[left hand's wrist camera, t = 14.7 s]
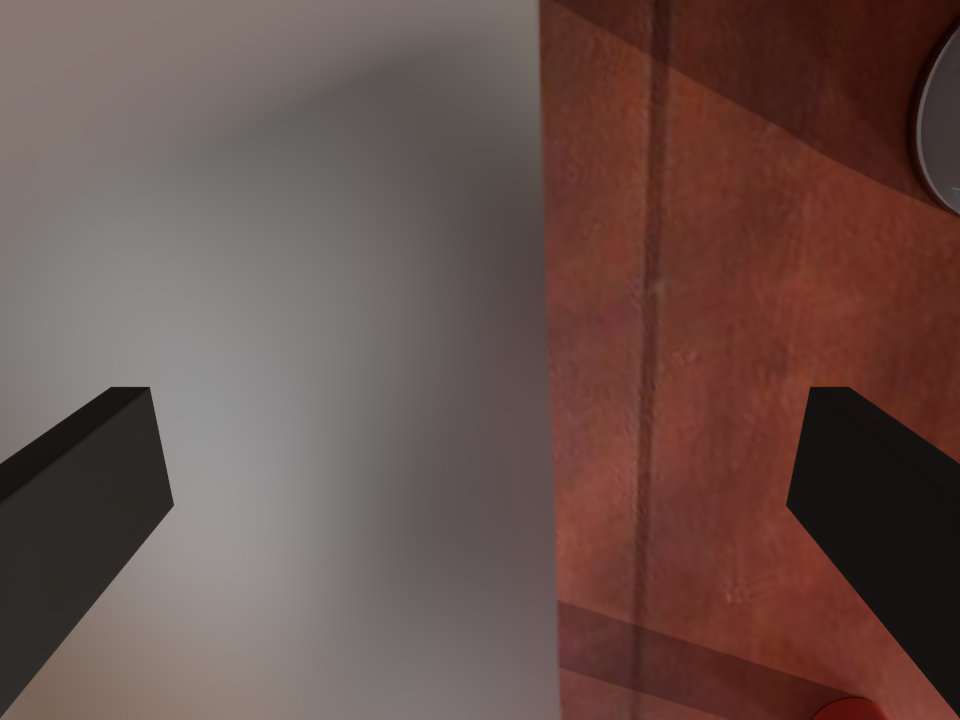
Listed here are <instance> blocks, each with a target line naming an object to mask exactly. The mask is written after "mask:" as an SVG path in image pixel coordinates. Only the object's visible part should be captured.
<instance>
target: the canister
mask: <svg viewBox="0 0 960 720" xmlns="http://www.w3.org/2000/svg"><path fill="white" fill-rule="evenodd" d="M813 720H889V719H888V718H887V716H886V715H885V713H884V712H883V710H882V709H881V708H880V707H879V706H878V705H877V704H875V703H874V702H872V701H870V700H867V699H862V698H847V699H842V700H838V701H836V702H833V703H831V704H829V705H827V706H825V707H824V708H823V709H821V710H820V711H819V712H818V713H817V714H816V715H815V717H814V718H813Z"/></svg>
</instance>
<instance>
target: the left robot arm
mask: <svg viewBox="0 0 960 720" xmlns="http://www.w3.org/2000/svg"><path fill="white" fill-rule="evenodd" d="M907 146H908V153H909V158H910V162H911V165H912V169H913V172H914V174H915V176H916V178H917V180H918V182H919V184H920V185H921V187H922V189H923V190H924V191H925V193H926V194H927V195H928V196H929V197H930V198H931V199H932V200H933V201H934V202H935V203H936V204H937V205H938V206H939V207H941V208H942V209H943V210H945V211H947V212H948V213H950V214H952V215H954V216H956V217H959V218H960V16H959V17H958V18H957V19H956V21H955V22H954V23H953V24H952V25H951V26H950V27H949V28H948V30H947V31H946V32H945V33H944V35H943V36H942V37H941V38H940V40H939V41H938V43H937V44H936V46H935V47H934V49H933V50H932V52H931V54H930V55H929V57H928V59H927V61H926V63H925V64H924V67H923V69H922V71H921V73H920V75H919V77H918V80H917V83H916V85H915V88H914V91H913V95H912V98H911V102H910V107H909V112H908V120H907ZM173 506H174V503H173V498H172V494H171V489H170V484H169V479H168V474H167V469H166V464H165V460H164V455H163V450H162V445H161V440H160V435H159V430H158V425H157V420H156V416H155V411H154V406H153V401H152V396H151V391H150V387H110V388H109V389H108V390H106V391H105V392H103V393H102V394H100V395H99V396H97V397H96V398H95V399H93V400H92V401H90V402H89V403H87V404H86V405H84V406H83V407H82V408H80V409H79V410H77V411H76V412H74V413H73V414H71V415H70V416H69V417H67V418H66V419H64V420H63V421H61V422H60V423H59V424H57V425H56V426H54V427H53V428H51V429H50V430H49V431H47V432H46V433H44V434H43V435H41V436H40V437H38V438H37V439H36V440H34V441H33V442H31V443H30V444H28V445H27V446H25V447H24V448H23V449H21V450H20V451H18V452H17V453H15V454H14V455H13V456H11V457H10V458H8V459H7V460H5V461H4V462H2V463H1V464H0V718H1V717H2V715H3V714H4V713H5V712H6V710H7V709H8V708H9V707H10V705H11V704H12V703H13V702H14V701H15V699H16V698H17V697H18V696H19V695H20V693H21V692H22V691H23V690H24V688H25V687H26V686H27V685H28V684H29V682H30V681H31V680H32V679H33V677H34V676H35V675H36V674H37V672H38V671H39V670H40V669H41V668H42V666H43V665H44V664H45V663H46V661H47V660H48V659H49V658H50V657H51V655H52V654H53V653H54V652H55V650H56V649H57V648H58V647H59V645H60V644H61V643H62V642H63V641H64V639H65V638H66V637H67V636H68V635H69V633H70V632H71V631H72V630H73V628H74V627H75V626H76V625H77V624H78V622H79V621H80V620H81V619H82V617H83V616H84V615H85V614H86V612H87V611H88V610H89V609H90V608H91V606H92V605H93V604H94V603H95V601H96V600H97V599H98V598H99V596H100V595H101V594H102V593H103V592H104V590H105V589H106V588H107V587H108V585H109V584H110V583H111V582H112V581H113V579H114V578H115V577H116V576H117V574H118V573H119V572H120V571H121V570H122V568H123V567H124V566H125V565H126V564H127V562H128V561H129V560H130V559H131V557H132V556H133V555H134V554H135V552H136V551H137V550H138V549H139V548H140V546H141V545H142V544H143V543H144V541H145V540H146V539H147V538H148V537H149V535H150V534H151V533H152V532H153V530H154V529H155V528H156V527H157V526H158V524H159V523H160V522H161V521H162V519H163V518H164V517H165V516H166V515H167V513H168V512H169V511H170V510H171V508H172V507H173ZM786 506H787V507H788V508H789V510H790V511H791V512H792V513H793V515H794V516H795V517H796V518H797V519H798V521H799V522H800V523H801V524H802V526H803V527H804V528H805V529H806V530H807V532H808V533H809V534H810V535H811V537H812V538H813V539H814V540H815V541H816V543H817V544H818V545H819V546H820V548H821V549H822V550H823V551H824V552H825V554H826V555H827V556H828V557H829V559H830V560H831V561H832V562H833V564H834V565H835V566H836V567H837V568H838V570H839V571H840V572H841V573H842V575H843V576H844V577H845V578H846V579H847V581H848V582H849V583H850V584H851V586H852V587H853V588H854V589H855V590H856V592H857V593H858V594H859V595H860V597H861V598H862V599H863V600H864V601H865V603H866V604H867V605H868V606H869V608H870V609H871V610H872V611H873V612H874V614H875V615H876V616H877V617H878V619H879V620H880V621H881V622H882V624H883V625H884V626H885V627H886V628H887V630H888V631H889V632H890V633H891V635H892V636H893V637H894V638H895V639H896V641H897V642H898V643H899V644H900V646H901V647H902V648H903V649H904V650H905V652H906V653H907V654H908V655H909V657H910V658H911V659H912V660H913V661H914V663H915V664H916V665H917V666H918V668H919V669H920V670H921V671H922V672H923V674H924V675H925V676H926V677H927V679H928V680H929V681H930V682H931V684H932V685H933V686H934V687H935V688H936V690H937V691H938V692H939V693H940V695H941V696H942V697H943V698H944V699H945V701H946V702H947V703H948V704H949V706H950V707H951V708H952V709H953V710H954V712H955V713H956V714H957V715H958V717H959V718H960V464H959V463H958V462H956V461H955V460H953V459H952V458H950V457H949V456H948V455H946V454H945V453H943V452H942V451H940V450H939V449H937V448H936V447H935V446H933V445H932V444H930V443H929V442H927V441H926V440H924V439H923V438H922V437H920V436H919V435H917V434H916V433H914V432H913V431H912V430H910V429H909V428H907V427H906V426H904V425H903V424H901V423H900V422H899V421H897V420H896V419H894V418H893V417H891V416H890V415H889V414H887V413H886V412H884V411H883V410H881V409H880V408H878V407H877V406H876V405H874V404H873V403H871V402H870V401H868V400H867V399H865V398H864V397H863V396H861V395H860V394H858V393H857V392H855V391H854V390H853V389H851V388H850V387H810V391H809V396H808V401H807V406H806V411H805V416H804V420H803V425H802V430H801V435H800V440H799V445H798V450H797V455H796V459H795V464H794V469H793V474H792V479H791V484H790V489H789V494H788V498H787V503H786Z"/></svg>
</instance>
